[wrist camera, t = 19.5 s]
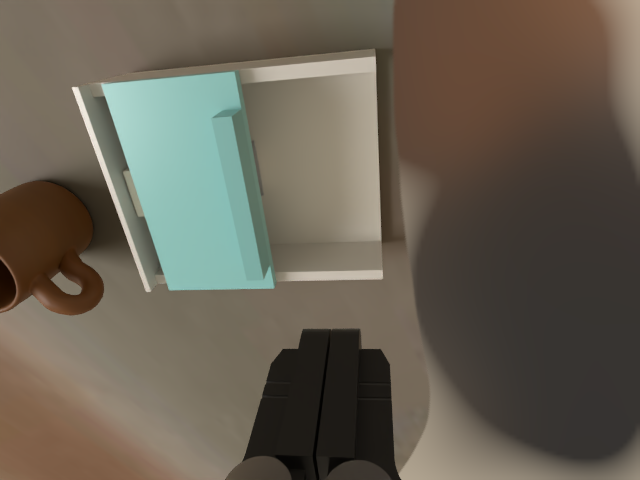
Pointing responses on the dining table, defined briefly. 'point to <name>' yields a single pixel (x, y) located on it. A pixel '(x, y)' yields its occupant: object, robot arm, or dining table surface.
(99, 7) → the dining table surface
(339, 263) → the grey housing
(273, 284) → the teal lid
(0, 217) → the mug
